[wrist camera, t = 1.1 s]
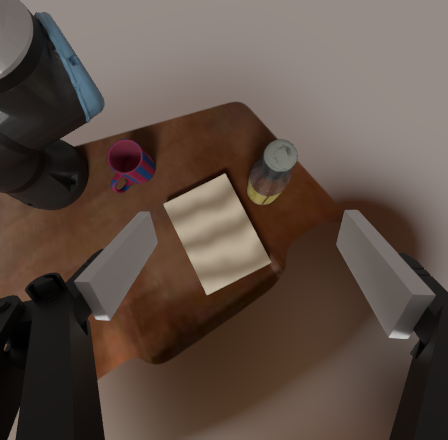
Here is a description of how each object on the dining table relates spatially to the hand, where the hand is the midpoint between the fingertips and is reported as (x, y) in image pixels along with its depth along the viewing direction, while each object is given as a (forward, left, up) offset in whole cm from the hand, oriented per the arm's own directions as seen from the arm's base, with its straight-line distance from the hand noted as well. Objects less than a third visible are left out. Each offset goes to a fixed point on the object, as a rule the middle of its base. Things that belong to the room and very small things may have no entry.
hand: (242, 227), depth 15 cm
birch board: (-2, -3, -29) cm, 30 cm away
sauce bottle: (-6, +9, -30) cm, 32 cm away
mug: (-21, -13, -30) cm, 38 cm away
